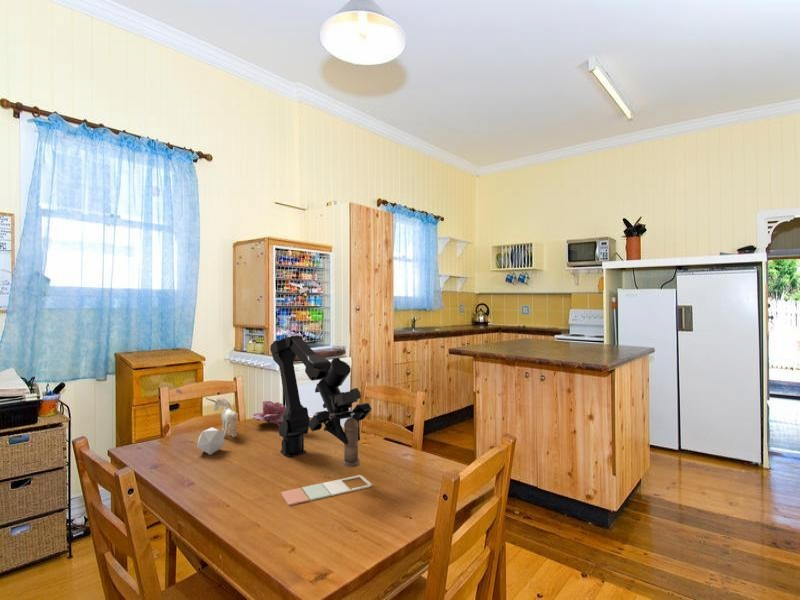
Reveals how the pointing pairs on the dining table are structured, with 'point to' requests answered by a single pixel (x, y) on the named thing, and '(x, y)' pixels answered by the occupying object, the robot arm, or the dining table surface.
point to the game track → (320, 491)
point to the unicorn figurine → (226, 416)
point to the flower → (271, 413)
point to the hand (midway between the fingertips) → (353, 441)
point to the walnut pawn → (351, 444)
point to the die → (211, 440)
